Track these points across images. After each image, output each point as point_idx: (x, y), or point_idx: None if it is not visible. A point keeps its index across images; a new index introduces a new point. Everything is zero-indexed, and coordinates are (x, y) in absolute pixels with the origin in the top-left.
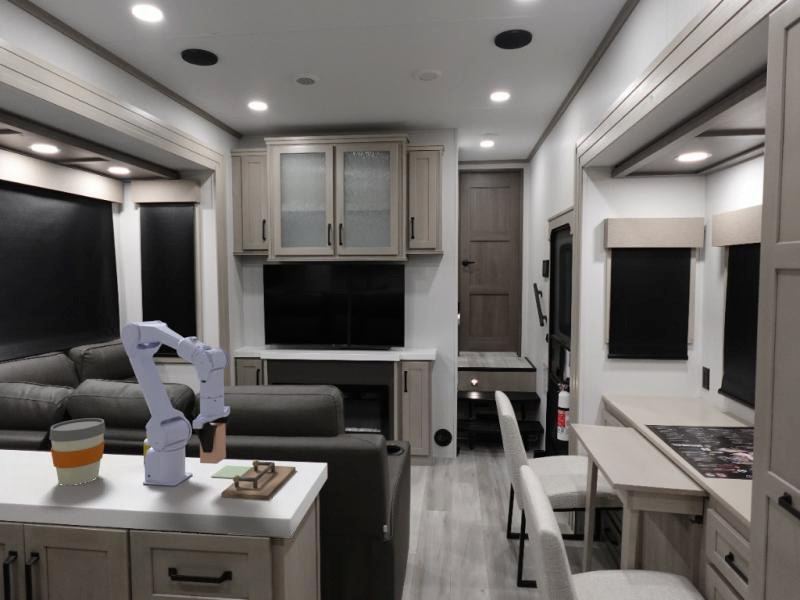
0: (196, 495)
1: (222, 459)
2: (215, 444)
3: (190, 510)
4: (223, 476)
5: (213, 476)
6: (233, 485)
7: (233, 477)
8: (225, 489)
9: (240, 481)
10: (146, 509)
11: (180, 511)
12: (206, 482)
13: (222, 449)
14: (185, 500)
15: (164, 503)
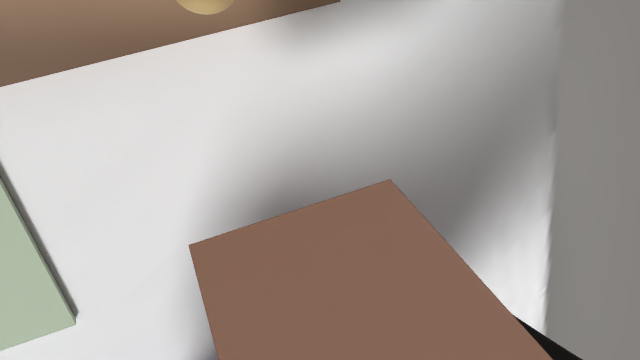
0: (353, 170)
1: (271, 221)
2: (530, 347)
3: (532, 38)
4: (27, 254)
5: (69, 311)
6: (183, 9)
7: (229, 4)
8: (280, 14)
9: (78, 10)
10: (536, 245)
11: (546, 82)
12: (162, 276)
13: (308, 303)
14: (425, 170)
15: (473, 232)
